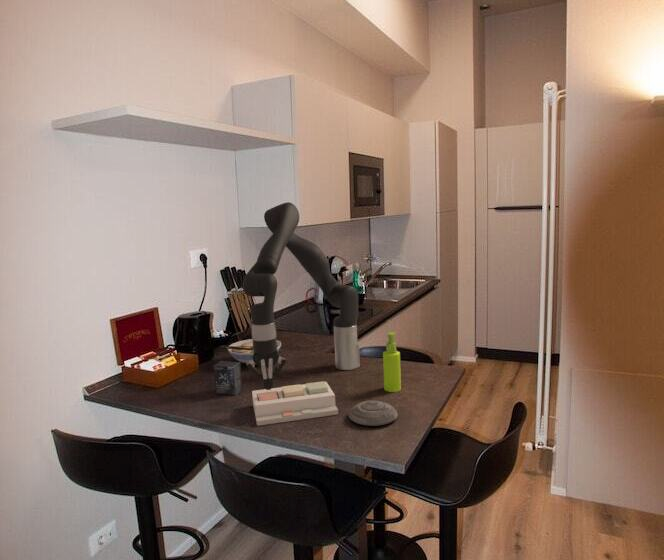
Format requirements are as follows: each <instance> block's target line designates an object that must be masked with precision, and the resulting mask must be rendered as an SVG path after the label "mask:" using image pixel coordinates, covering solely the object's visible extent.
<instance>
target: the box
mask: <svg viewBox="0 0 664 560" xmlns="http://www.w3.org/2000/svg"><path fill="white" fill-rule="evenodd" d="M213 377H214V386H215V394H216V395H217V394H218V395H228V396H237V395H238V393H240V392H241V391H242V390H243V386H242V385H243V384H242V371H241V362H240V361H237V362H236V361H224V360H223V361H222V360H220V361H219V362H217V363H216V364H214V365H213Z"/></svg>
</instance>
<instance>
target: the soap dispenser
mask: <svg viewBox="0 0 664 560" xmlns="http://www.w3.org/2000/svg"><path fill="white" fill-rule="evenodd" d="M396 333H397V332H396V331H388V333H387V334H386V335H387V336H386V337H388V341H387V342H385V346H386V348H385V349H386V351H383V352H382V365H383V390H384V391H385V392H388V393H397V392H399V391H401V390H402V381H401V380H402V376H401V375H402V374H401V352H400V351H398V350H397V342H395V341H394V336H395V334H396Z"/></svg>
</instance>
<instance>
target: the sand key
mask: <svg viewBox="0 0 664 560" xmlns="http://www.w3.org/2000/svg"><path fill="white" fill-rule="evenodd" d="M301 385H302V384H300V383H299V384H293V385H291V384H290V385H283V386H281V387H282V395H283V398H288V397H296V396H303V389H302V387H301Z"/></svg>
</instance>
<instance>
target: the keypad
mask: <svg viewBox="0 0 664 560" xmlns="http://www.w3.org/2000/svg"><path fill="white" fill-rule="evenodd" d="M324 383H325V384H326V386H327V388H328V392H326V393H319V394H311V395H308V393H307V391H306V383H305V384H300V385H301V387H302V389H303V396H296V397H288V398H283V395H282V387H283V386H280V387H272V388H271V390H266V388H264V389H256V390H252V391H251V394H252V395H251V396H252V406H253V411H254V412H253V413H254V417H255V423H256V426H265V425H272V424H279V423H287V422H292V421H293V422H294V421H301V420H308V419H315V418H320V417H321V418H322V417H329V416H335V415H339V408H338V407H337V406H336V395H335V392H334V391H333V390H332V388H331V387H330V385H329V384H328V382H327V381H324ZM271 392H276V393H277V396H278V399H273V400H265V401H258V394H263V393H271Z"/></svg>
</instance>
